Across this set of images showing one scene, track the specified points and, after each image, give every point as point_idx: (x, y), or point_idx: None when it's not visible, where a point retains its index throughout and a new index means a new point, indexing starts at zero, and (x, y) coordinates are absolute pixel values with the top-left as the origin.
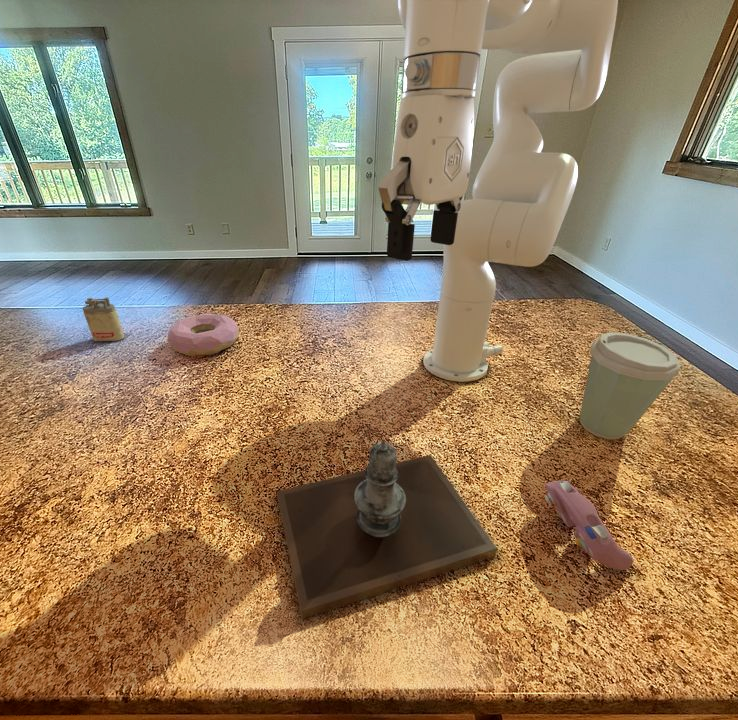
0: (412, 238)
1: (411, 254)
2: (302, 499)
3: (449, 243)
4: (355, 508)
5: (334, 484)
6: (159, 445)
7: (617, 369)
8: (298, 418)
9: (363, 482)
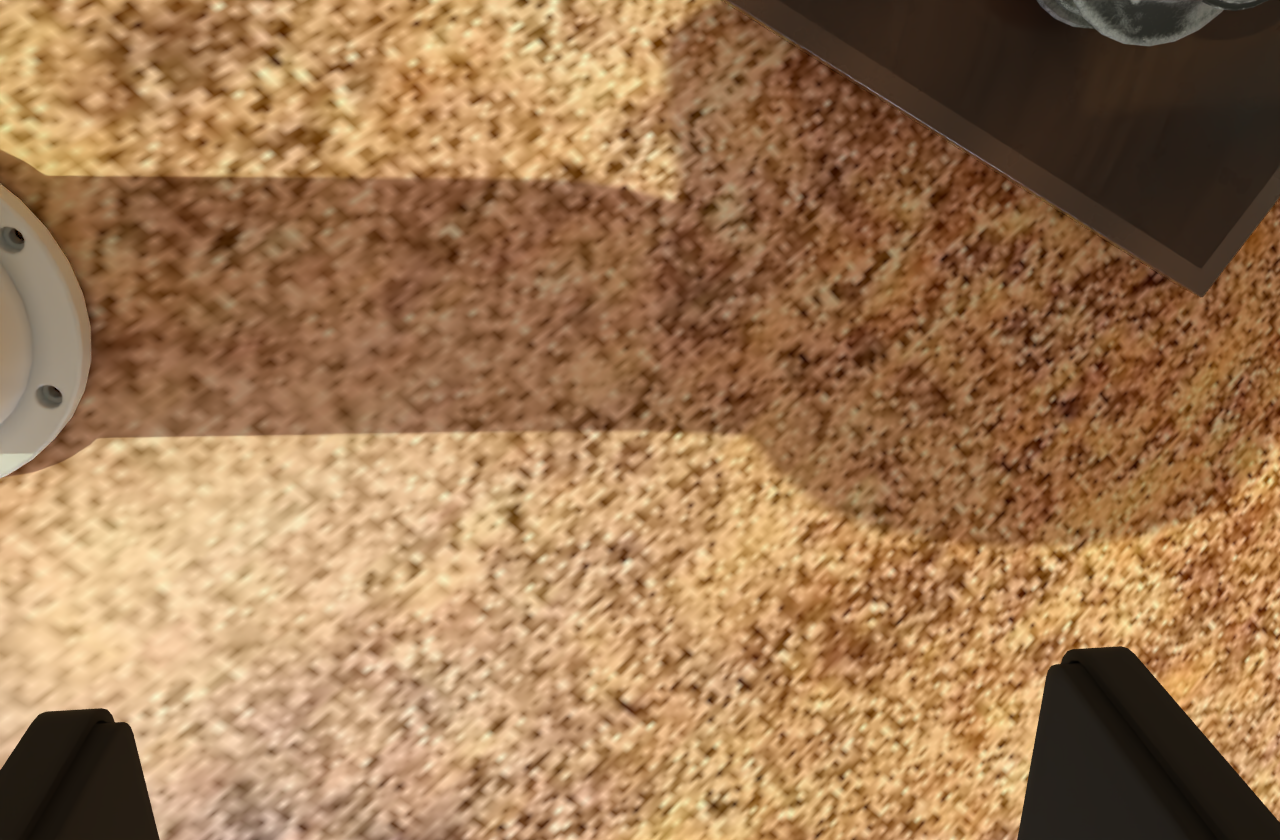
0: (1232, 820)
1: (1116, 677)
2: (1184, 206)
3: (125, 728)
4: None
5: (1068, 172)
6: (1213, 727)
7: None
8: (827, 543)
9: (1143, 36)
